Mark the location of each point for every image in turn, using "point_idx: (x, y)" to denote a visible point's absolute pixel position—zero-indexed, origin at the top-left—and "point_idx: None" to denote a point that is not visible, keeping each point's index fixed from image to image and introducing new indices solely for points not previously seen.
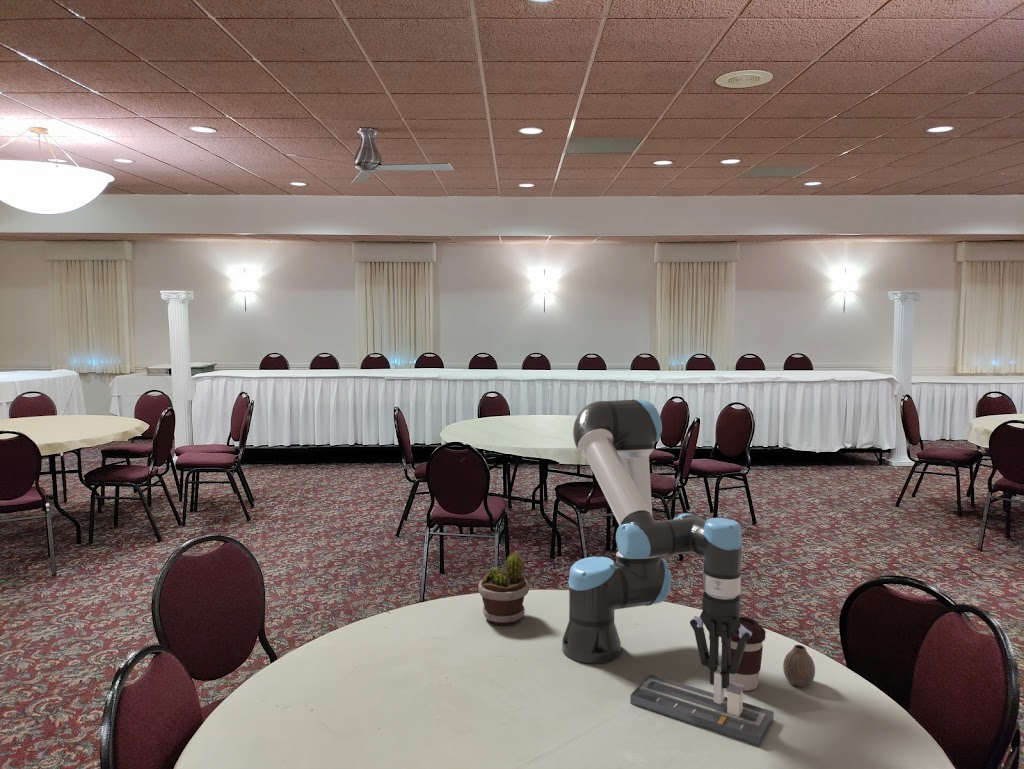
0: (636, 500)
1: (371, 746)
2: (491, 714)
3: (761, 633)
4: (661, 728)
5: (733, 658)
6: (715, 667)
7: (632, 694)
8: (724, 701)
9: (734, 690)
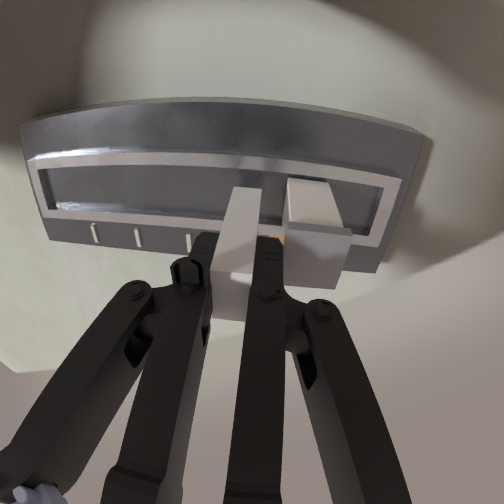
0: None
1: (28, 360)
2: (15, 316)
3: None
4: (153, 278)
5: (310, 419)
6: (208, 322)
7: (50, 237)
8: (258, 158)
9: (312, 286)
